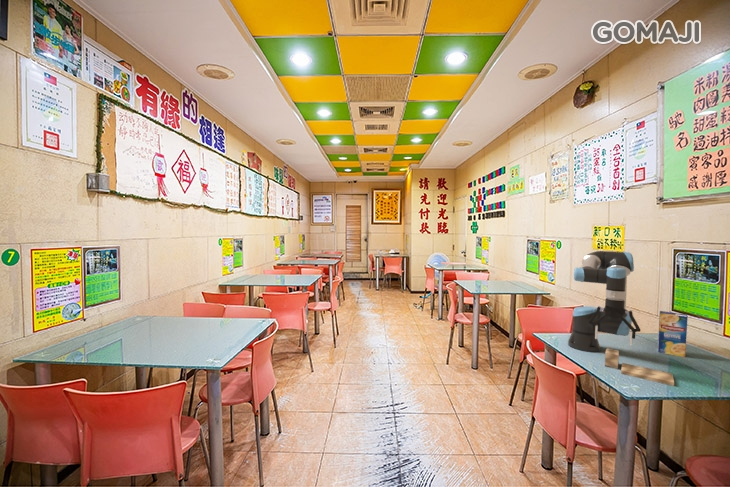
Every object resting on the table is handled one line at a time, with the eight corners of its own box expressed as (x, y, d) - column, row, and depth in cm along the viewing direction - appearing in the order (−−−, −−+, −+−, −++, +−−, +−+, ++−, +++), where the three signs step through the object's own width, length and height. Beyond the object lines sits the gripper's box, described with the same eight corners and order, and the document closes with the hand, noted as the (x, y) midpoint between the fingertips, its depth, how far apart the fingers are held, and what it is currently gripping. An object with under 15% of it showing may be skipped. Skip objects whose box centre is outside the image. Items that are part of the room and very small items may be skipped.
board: (621, 373, 152) (621, 370, 151) (622, 365, 161) (622, 362, 161) (674, 386, 140) (674, 382, 140) (671, 376, 149) (672, 373, 149)
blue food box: (685, 357, 174) (687, 316, 173) (657, 351, 181) (660, 312, 180) (684, 353, 179) (686, 314, 178) (657, 348, 186) (659, 310, 185)
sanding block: (604, 366, 160) (605, 352, 159) (606, 361, 166) (606, 348, 165) (617, 369, 156) (618, 355, 156) (618, 364, 162) (619, 350, 162)
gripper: (583, 296, 165) (581, 337, 165) (648, 304, 149) (646, 349, 149) (585, 294, 170) (583, 334, 171) (648, 301, 154) (646, 345, 155)
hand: (612, 341), depth 160 cm, fingers open, 13 cm apart
